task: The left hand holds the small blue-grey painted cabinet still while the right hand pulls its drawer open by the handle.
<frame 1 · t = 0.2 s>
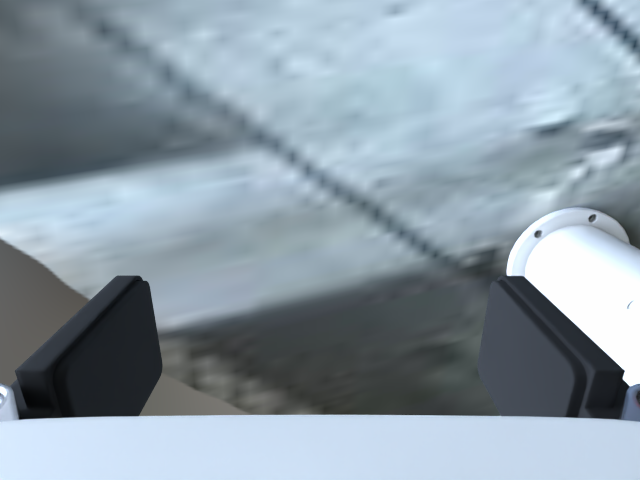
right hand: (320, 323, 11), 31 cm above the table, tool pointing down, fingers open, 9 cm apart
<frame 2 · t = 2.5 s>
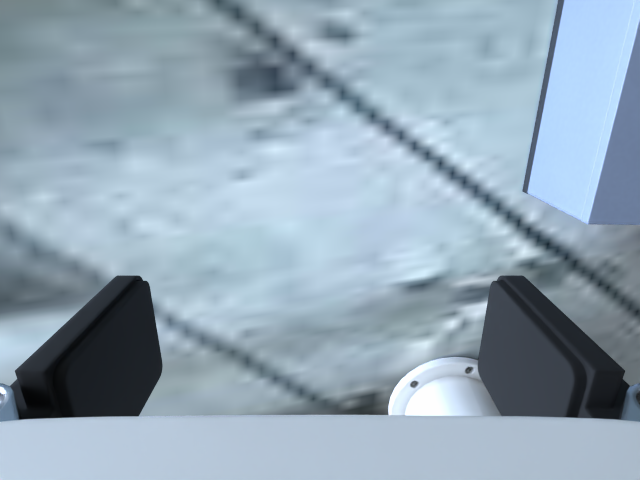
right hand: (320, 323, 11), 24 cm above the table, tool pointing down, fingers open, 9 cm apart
cabinet: (579, 85, 32), on the table
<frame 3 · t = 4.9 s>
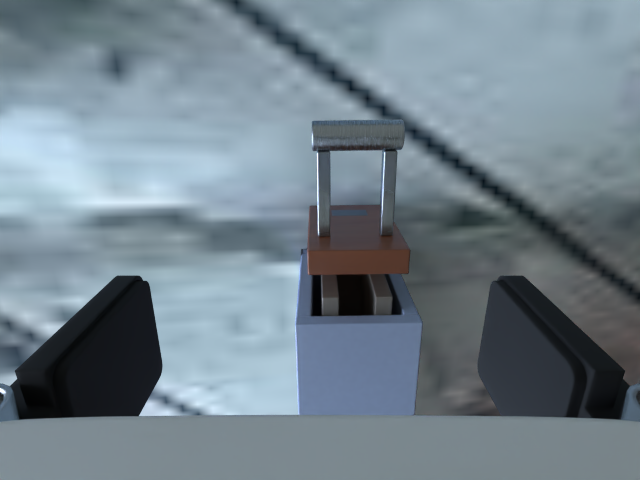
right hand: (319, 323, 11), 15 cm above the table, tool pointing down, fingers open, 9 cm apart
cabinet: (344, 355, 30), on the table, touching left hand
drawer: (350, 310, 23), point 4 cm above the table, slide at 2.0 cm
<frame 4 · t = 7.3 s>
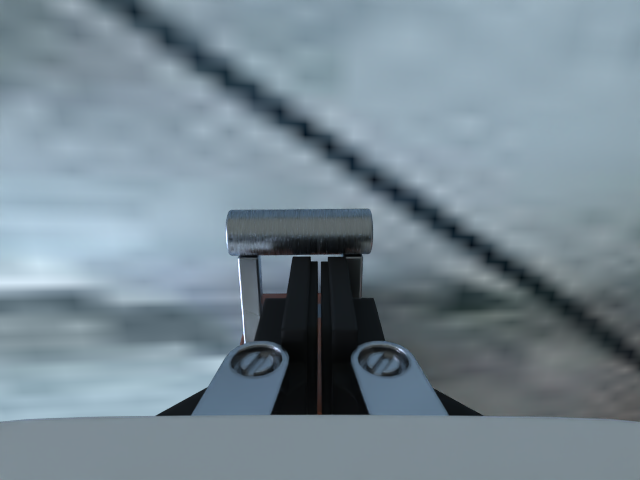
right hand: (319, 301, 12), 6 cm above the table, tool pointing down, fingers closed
drawer: (305, 447, 17), point 4 cm above the table, slide at 1.7 cm, touching right hand
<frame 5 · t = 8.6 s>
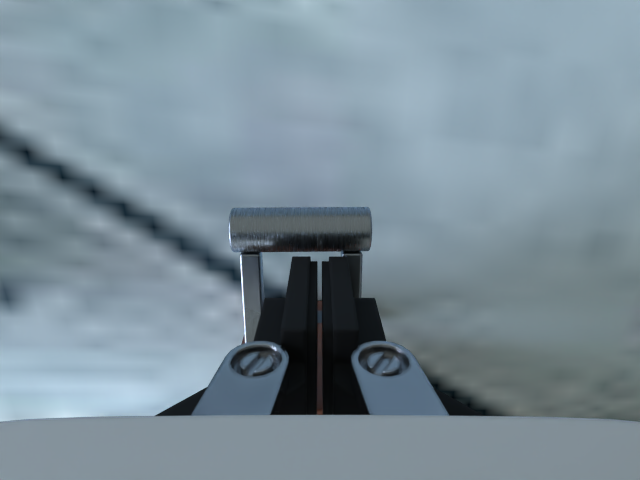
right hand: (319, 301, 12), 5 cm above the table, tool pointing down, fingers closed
drawer: (305, 457, 16), point 4 cm above the table, slide at 9.3 cm, touching right hand
when the left hand's fingers open (6 cm above the table, at t = 10.6 s): cabinet stays where it is, on the table.
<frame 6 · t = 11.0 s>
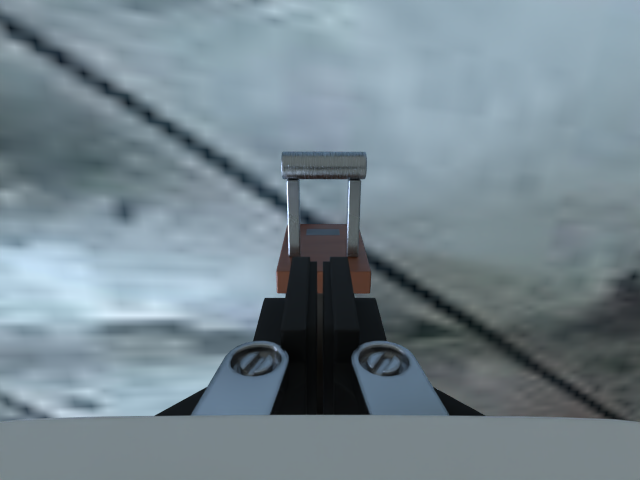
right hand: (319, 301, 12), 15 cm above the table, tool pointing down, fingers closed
drawer: (322, 324, 25), point 4 cm above the table, slide at 9.4 cm
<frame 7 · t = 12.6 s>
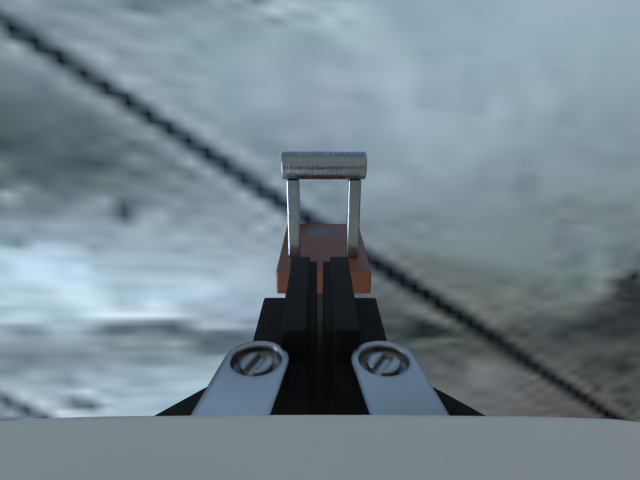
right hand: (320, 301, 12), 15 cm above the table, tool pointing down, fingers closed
drawer: (322, 324, 25), point 4 cm above the table, slide at 9.4 cm
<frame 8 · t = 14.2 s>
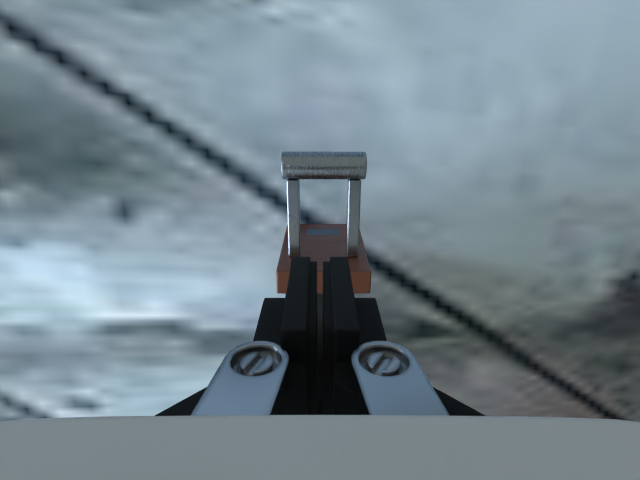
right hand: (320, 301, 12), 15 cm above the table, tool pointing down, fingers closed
drawer: (322, 324, 25), point 4 cm above the table, slide at 9.4 cm
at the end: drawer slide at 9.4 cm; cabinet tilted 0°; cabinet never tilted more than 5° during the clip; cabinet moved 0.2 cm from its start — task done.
